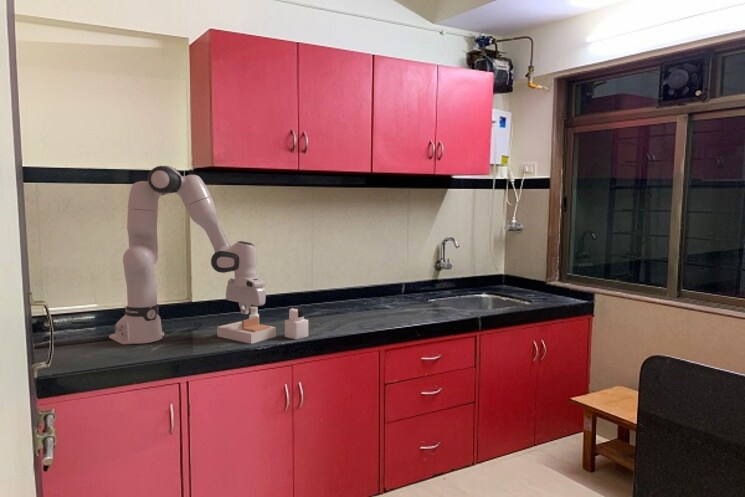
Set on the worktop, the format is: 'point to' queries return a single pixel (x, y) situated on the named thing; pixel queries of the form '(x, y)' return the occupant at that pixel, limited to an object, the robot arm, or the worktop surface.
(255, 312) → the salt shaker
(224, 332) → the white tray
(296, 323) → the white stepped block
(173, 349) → the worktop surface
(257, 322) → the orange l-shaped bracket
